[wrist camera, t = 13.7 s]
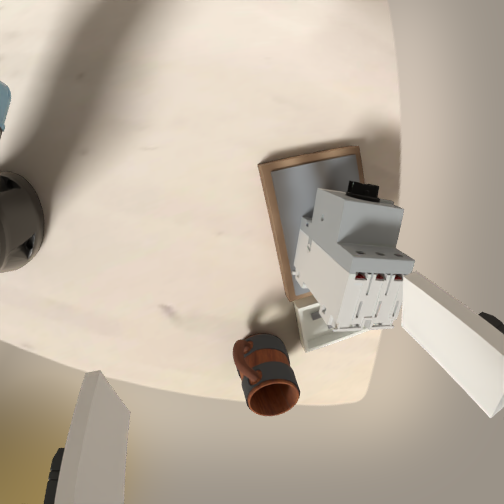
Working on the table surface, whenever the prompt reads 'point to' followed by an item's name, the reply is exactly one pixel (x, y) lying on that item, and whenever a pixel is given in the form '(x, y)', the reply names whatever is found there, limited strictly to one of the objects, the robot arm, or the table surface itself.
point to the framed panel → (303, 198)
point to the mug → (266, 374)
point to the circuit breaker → (353, 258)
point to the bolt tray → (317, 326)
